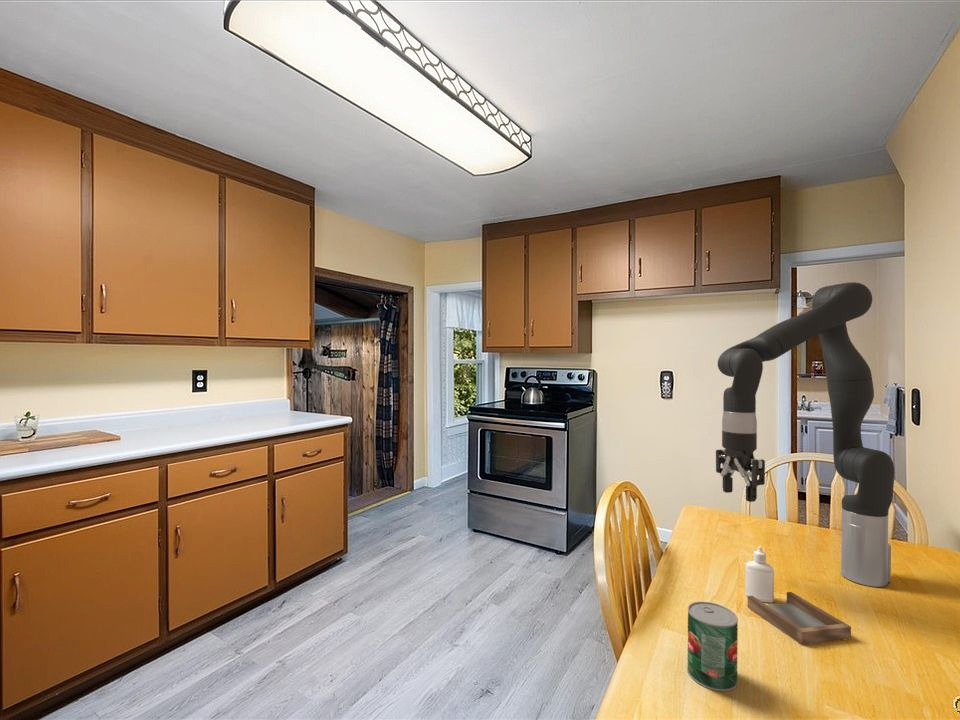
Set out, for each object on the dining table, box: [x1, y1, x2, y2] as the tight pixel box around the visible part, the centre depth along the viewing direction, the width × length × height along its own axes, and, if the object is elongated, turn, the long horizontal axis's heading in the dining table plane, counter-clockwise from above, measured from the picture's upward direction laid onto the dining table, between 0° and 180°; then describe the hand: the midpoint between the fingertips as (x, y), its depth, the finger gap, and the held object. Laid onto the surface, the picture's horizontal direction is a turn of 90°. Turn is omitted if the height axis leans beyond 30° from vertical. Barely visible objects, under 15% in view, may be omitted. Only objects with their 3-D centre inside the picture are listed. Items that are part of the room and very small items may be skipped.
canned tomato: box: [686, 601, 739, 692], centre depth 83 cm, size 8×8×11 cm
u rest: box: [747, 591, 852, 646], centre depth 100 cm, size 11×14×2 cm
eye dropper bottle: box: [745, 545, 775, 604], centre depth 110 cm, size 4×6×12 cm
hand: (738, 496), depth 116 cm, fingers open, 7 cm apart
